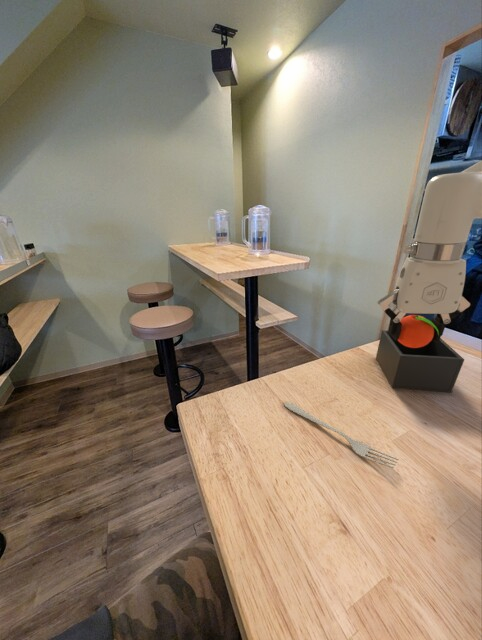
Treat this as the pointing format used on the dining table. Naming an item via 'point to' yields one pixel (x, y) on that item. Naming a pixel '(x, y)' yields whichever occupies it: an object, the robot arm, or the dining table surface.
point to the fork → (356, 446)
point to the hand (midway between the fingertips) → (413, 337)
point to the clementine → (416, 331)
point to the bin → (419, 364)
